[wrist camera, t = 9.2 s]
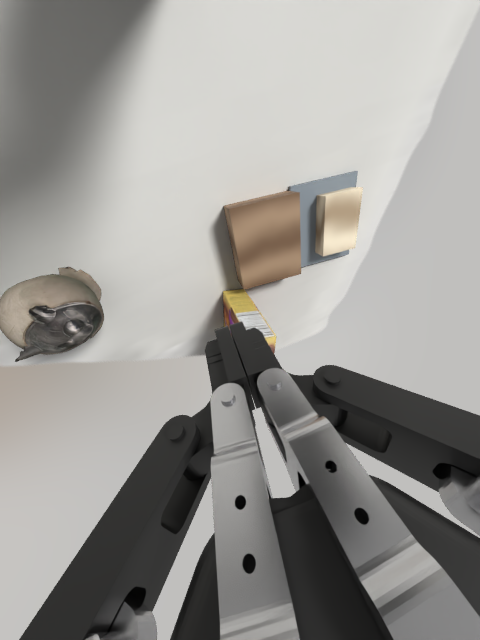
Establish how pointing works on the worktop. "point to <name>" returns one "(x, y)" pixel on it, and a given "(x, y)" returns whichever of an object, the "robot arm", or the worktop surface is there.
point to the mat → (309, 212)
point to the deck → (265, 238)
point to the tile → (337, 220)
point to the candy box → (246, 314)
